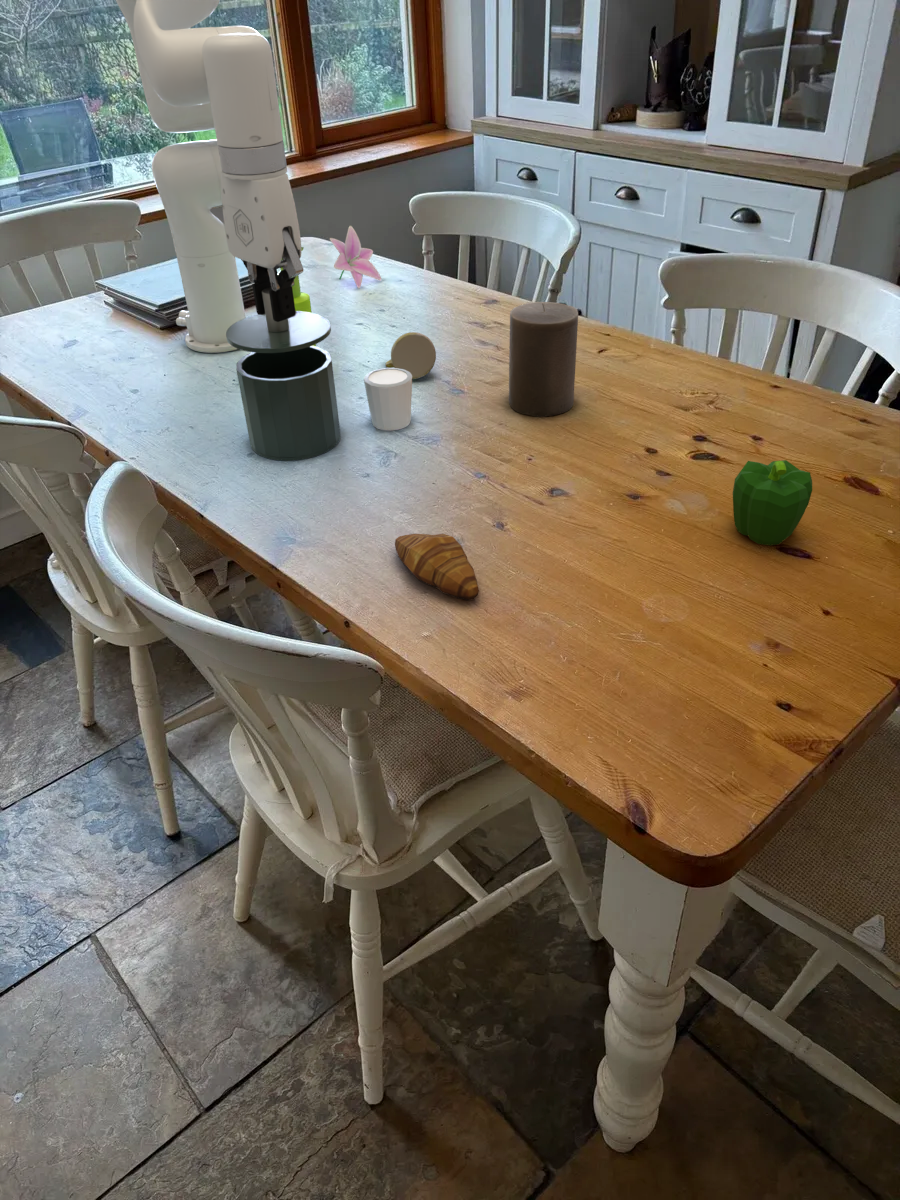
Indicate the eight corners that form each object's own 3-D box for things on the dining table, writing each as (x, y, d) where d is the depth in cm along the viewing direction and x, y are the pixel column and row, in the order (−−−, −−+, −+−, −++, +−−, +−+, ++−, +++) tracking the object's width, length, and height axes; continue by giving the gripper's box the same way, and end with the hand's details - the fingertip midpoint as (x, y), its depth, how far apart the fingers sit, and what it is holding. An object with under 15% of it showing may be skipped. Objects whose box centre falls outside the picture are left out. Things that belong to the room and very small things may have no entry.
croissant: (500, 590, 93) (500, 552, 90) (451, 616, 90) (449, 577, 87) (423, 538, 102) (421, 502, 99) (376, 560, 99) (372, 523, 96)
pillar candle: (530, 422, 125) (533, 319, 116) (496, 398, 132) (496, 299, 123) (586, 407, 129) (593, 306, 120) (550, 384, 136) (554, 287, 127)
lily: (327, 298, 175) (343, 257, 169) (308, 261, 180) (323, 220, 174) (378, 305, 182) (396, 266, 176) (358, 269, 187) (375, 230, 181)
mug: (430, 356, 147) (442, 314, 138) (425, 402, 143) (437, 361, 134) (387, 347, 146) (396, 304, 137) (380, 393, 142) (389, 352, 133)
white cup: (421, 414, 129) (419, 369, 124) (404, 435, 124) (401, 388, 119) (378, 409, 131) (374, 364, 126) (360, 429, 125) (355, 383, 121)
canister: (237, 458, 120) (221, 378, 113) (269, 417, 130) (256, 342, 123) (325, 463, 118) (314, 383, 111) (350, 422, 127) (342, 345, 121)
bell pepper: (736, 508, 105) (750, 432, 99) (806, 524, 102) (826, 447, 96) (715, 542, 100) (729, 464, 94) (789, 561, 96) (809, 481, 90)
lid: (211, 355, 111) (201, 306, 107) (249, 317, 121) (241, 271, 117) (314, 360, 108) (307, 310, 105) (343, 321, 119) (338, 274, 115)
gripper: (188, 156, 104) (217, 309, 116) (267, 175, 95) (290, 339, 106) (240, 146, 108) (263, 294, 120) (321, 163, 99) (338, 322, 110)
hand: (276, 314), depth 113 cm, fingers closed on lid, 2 cm apart
